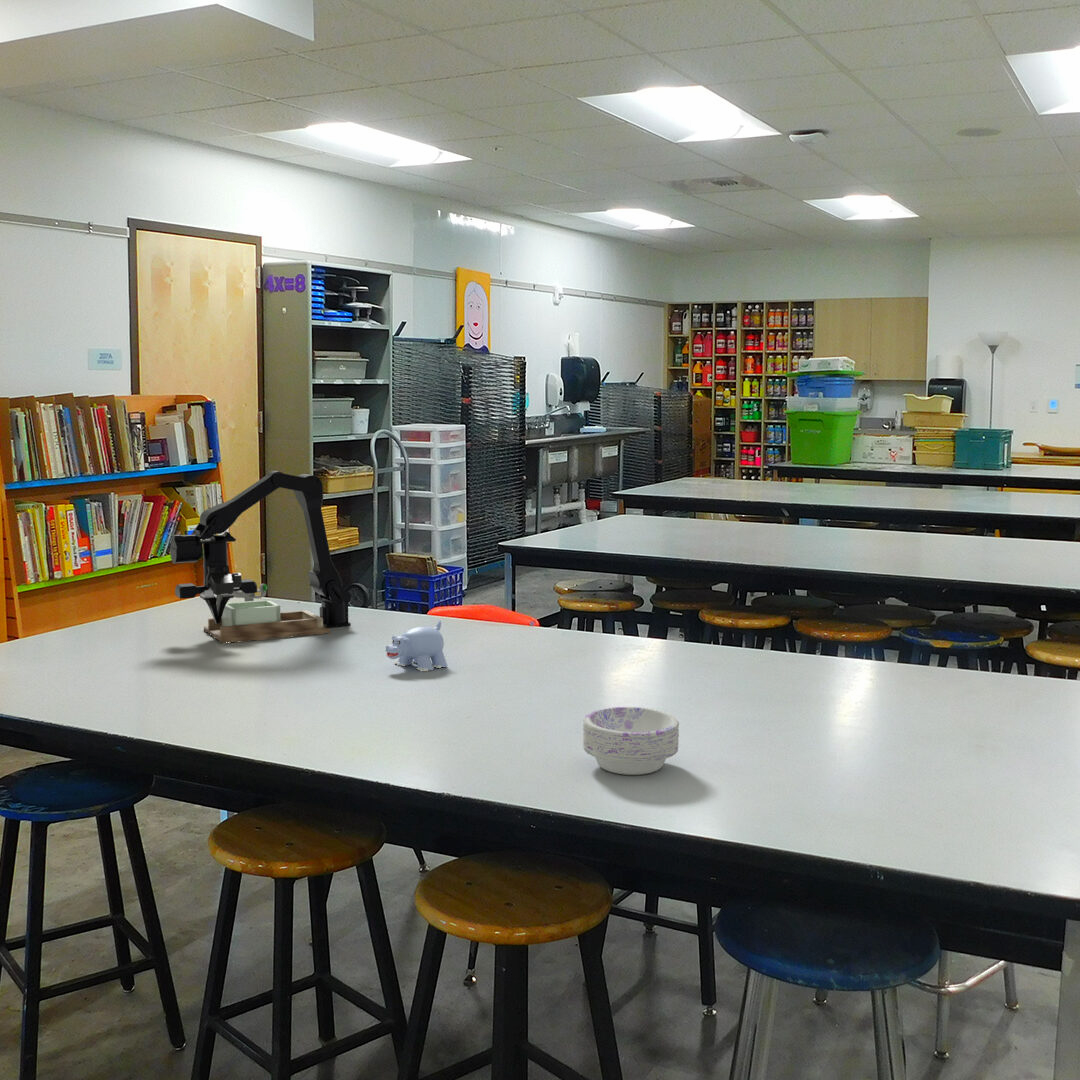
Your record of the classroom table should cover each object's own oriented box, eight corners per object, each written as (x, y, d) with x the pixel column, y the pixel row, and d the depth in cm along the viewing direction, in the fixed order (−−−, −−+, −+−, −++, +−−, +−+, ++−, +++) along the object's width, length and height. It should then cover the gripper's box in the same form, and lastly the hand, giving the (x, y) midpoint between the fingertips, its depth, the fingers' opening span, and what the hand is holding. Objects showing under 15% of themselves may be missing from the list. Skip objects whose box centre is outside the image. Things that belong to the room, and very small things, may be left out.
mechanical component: (265, 622, 302) (264, 584, 301) (229, 620, 304) (228, 583, 303) (269, 620, 305) (269, 583, 304) (234, 618, 307) (233, 581, 306)
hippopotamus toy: (373, 668, 250) (373, 625, 249) (425, 658, 261) (425, 616, 260) (405, 676, 243) (405, 632, 242) (457, 665, 254) (457, 623, 253)
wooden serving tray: (307, 621, 303) (307, 608, 303) (330, 633, 288) (330, 619, 288) (203, 630, 290) (203, 617, 290) (222, 643, 275) (221, 629, 274)
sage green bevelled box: (268, 622, 294) (268, 599, 293) (280, 629, 286) (280, 605, 285) (221, 627, 288) (221, 603, 288) (232, 634, 280) (231, 609, 279)
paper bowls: (639, 788, 173) (640, 737, 172) (563, 767, 183) (563, 718, 182) (696, 765, 184) (698, 717, 183) (621, 746, 194) (622, 700, 193)
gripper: (184, 567, 269) (186, 632, 271) (262, 562, 278) (264, 625, 280) (173, 561, 279) (175, 624, 281) (249, 556, 288) (251, 617, 290)
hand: (217, 623), depth 283 cm, fingers closed
